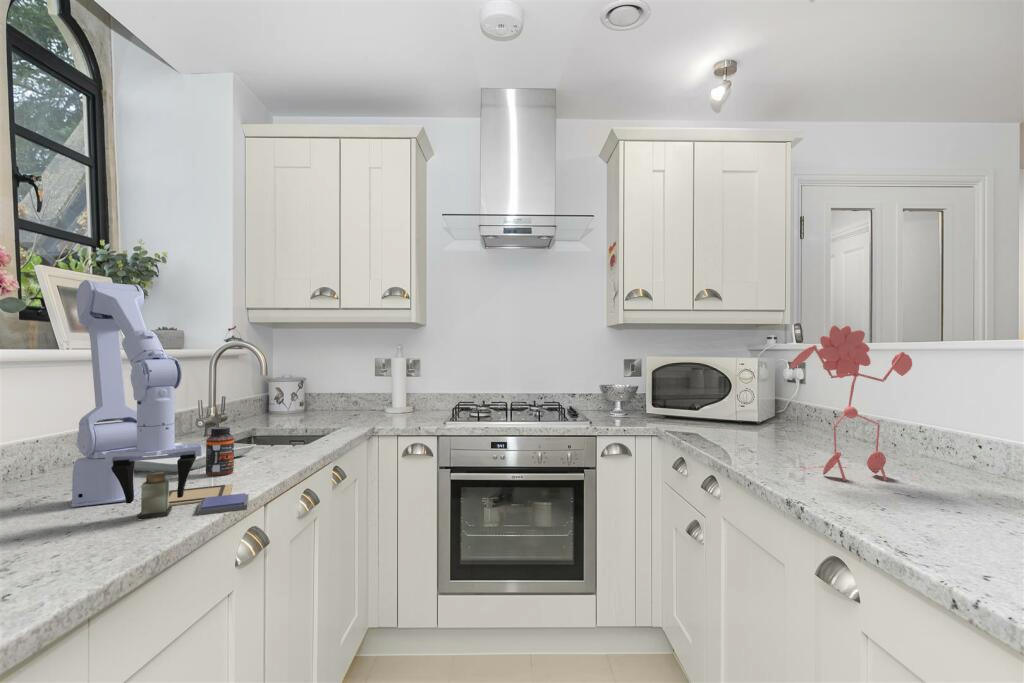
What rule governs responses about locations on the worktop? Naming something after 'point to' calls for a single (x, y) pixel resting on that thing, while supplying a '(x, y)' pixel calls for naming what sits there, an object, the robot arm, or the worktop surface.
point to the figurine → (845, 357)
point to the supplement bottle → (219, 452)
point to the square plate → (171, 463)
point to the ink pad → (223, 503)
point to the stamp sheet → (198, 494)
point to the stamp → (155, 496)
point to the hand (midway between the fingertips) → (155, 499)
